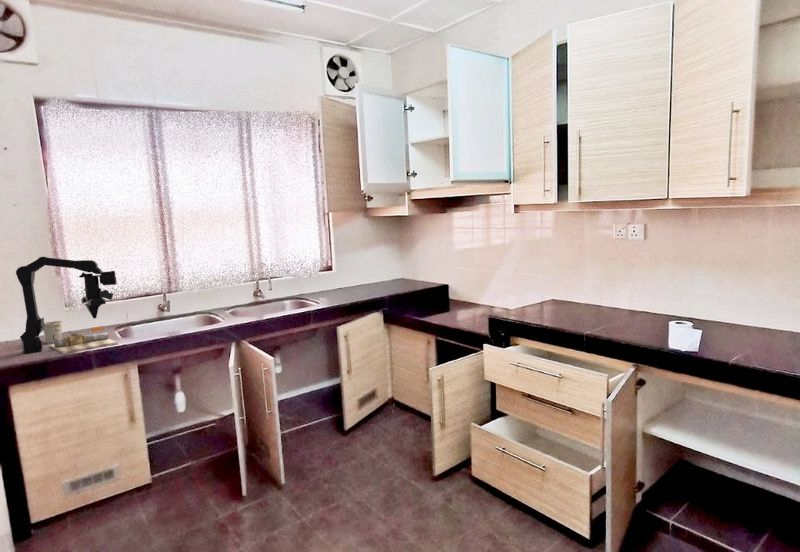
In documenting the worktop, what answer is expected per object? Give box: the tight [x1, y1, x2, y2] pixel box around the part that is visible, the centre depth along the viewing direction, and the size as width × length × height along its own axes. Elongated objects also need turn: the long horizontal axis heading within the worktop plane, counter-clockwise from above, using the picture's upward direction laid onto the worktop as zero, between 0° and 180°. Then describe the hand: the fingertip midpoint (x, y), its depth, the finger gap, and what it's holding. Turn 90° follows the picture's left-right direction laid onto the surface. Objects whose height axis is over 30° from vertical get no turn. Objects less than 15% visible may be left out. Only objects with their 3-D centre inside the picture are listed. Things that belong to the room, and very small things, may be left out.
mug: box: [42, 320, 63, 344], centre depth 245 cm, size 8×13×10 cm, turn 61°
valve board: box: [49, 331, 119, 354], centre depth 233 cm, size 22×24×5 cm
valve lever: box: [70, 326, 104, 335], centre depth 235 cm, size 13×2×2 cm, turn 129°
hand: (94, 318), depth 234 cm, fingers closed
